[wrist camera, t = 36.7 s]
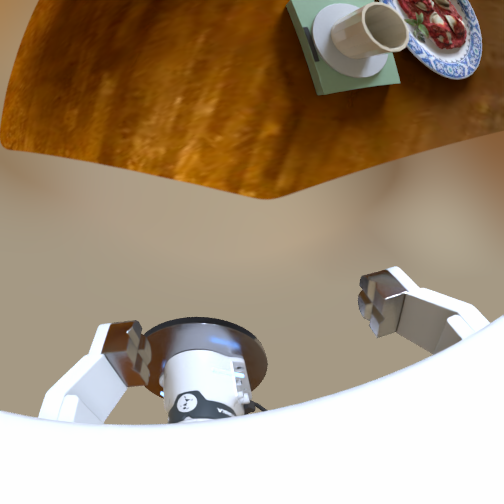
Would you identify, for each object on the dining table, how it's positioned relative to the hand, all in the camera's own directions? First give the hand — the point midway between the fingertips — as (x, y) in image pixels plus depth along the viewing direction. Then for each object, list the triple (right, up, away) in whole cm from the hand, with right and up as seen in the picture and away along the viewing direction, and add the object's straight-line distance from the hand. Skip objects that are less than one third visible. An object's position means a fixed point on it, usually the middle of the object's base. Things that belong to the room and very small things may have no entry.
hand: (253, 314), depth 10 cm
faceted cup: (+13, +29, +16) cm, 36 cm away
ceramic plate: (+30, +42, +16) cm, 54 cm away
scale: (+12, +30, +19) cm, 38 cm away
